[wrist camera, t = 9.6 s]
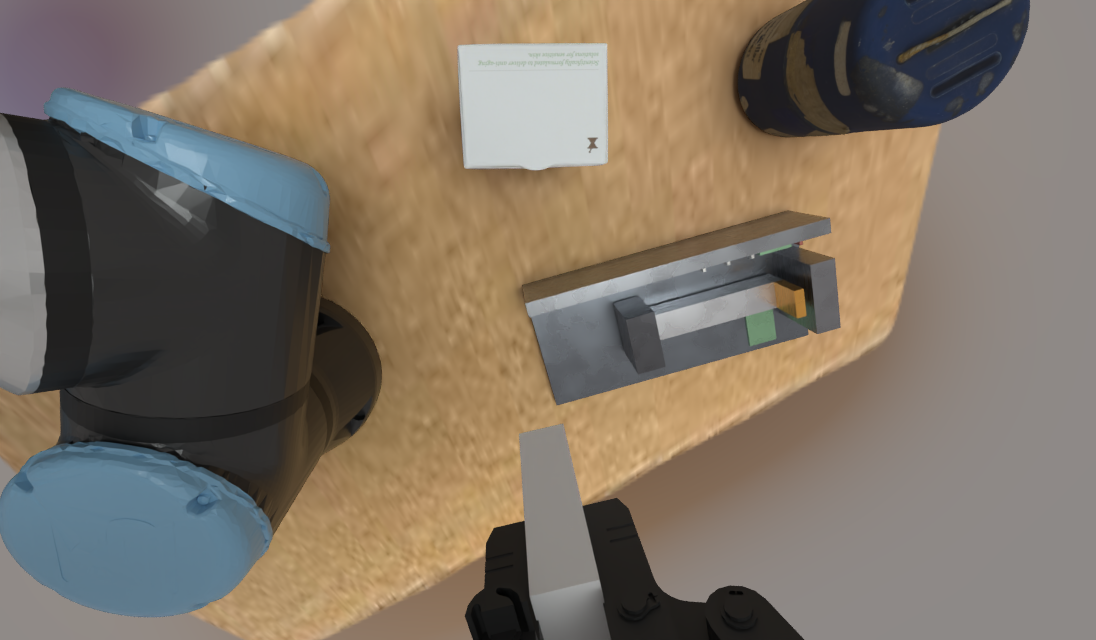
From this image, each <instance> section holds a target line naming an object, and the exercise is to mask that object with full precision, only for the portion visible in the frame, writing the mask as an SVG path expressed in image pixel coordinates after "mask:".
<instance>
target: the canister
mask: <svg viewBox="0 0 1096 640" xmlns="http://www.w3.org/2000/svg"><path fill="white" fill-rule="evenodd" d="M1029 10H1030V0H806V1H804V2H802V3H801V4H799V5H797V6H795V7H793V8H792V9H790V10H788V11H786V12H784V13H782V14H780V15H779V16H777V17H775V18H773V19H772V20H770V21H769V22H768V23H767V24H765V25H764V26H763V27H762V28H761V29H760V30H759V31H758V32H757V33H756V34H755V36H754V37H753V38H752V40H751V41H750V43H749V44H748V46H747V48H746V50H745V52H744V54H743V57H742V60H741V63H740V67H739V73H738V92H739V97H740V102H741V105H742V107H743V109H744V111H745V113H746V114H747V116H748V118H749V119H750V120H751V121H752V122H753V123H754V124H755V125H756V126H757V127H759V128H760V129H761V130H763V131H765V132H767V133H769V134H772V135H775V136H780V137H806V136H827V135H841V134H848V133H854V132H864V131H877V130H890V129H903V128H917V127H926V126H932V125H937V124H941V123H944V122H947V121H949V120H952V119H954V118H956V117H958V116H960V115H962V114H964V113H966V112H968V111H970V110H971V109H973V108H974V107H975V106H977V105H978V104H979V103H981V102H982V101H983V100H984V99H985V98H986V97H987V96H989V95H990V93H992V92H993V90H994V89H995V88H996V87H997V86H998V85H999V84H1000V83H1001V81H1002V80H1003V79H1004V77H1005V76H1006V74H1007V73H1008V72H1009V70H1010V69H1011V67H1012V65H1013V64H1014V61H1015V60H1016V57H1017V55H1018V53H1019V51H1020V49H1021V46H1022V44H1023V40H1024V38H1025V35H1026V32H1027V28H1028V21H1029Z"/></svg>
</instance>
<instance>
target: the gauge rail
mask: <svg viewBox="0 0 1096 640" xmlns="http://www.w3.org/2000/svg"><path fill="white" fill-rule="evenodd" d="M829 233H831V225H830V218H827V217H821V216H815V215H810V214H804V213H799V212H793V211H785V212H781V213H778V214H774V215H771V216H767V217H763V218H760V219H756V220H753V221H749V222H746V223H742V224H738V225H735V226H731V227H728V228H724V229H721V230H717V231H713V232H710V233H706V234H703V235H699V236H696V237H692V238H689V239H685V240H681V241H678V242H674V243H671V244H667V245H664V246H660V247H656V248H653V249H649V250H646V251H642V252H639V253H635V254H632V255H628V256H624V257H621V258H617V259H614V260H610V261H607V262H603V263H599V264H596V265H592V266H589V267H585V268H582V269H578V270H574V271H571V272H567V273H564V274H560V275H557V276H553V277H550V278H546V279H542V280H539V281H535V282H532V283H528V284H525V285H522V286H523V293H524V300H525V305H526V309H527V312H528V315H529V317H531V318H532V322H533V325H534V329H535V332H536V335H537V339H538V342H539V346H540V349H541V353H542V356H543V359H544V363H545V366H546V370H547V373H548V377H549V380H550V383H551V387H552V390H553V394H554V397H555V401H556V404H557V405H560V404H564V403H567V402H571V401H574V400H578V399H581V398H585V397H589V396H592V395H596V394H599V393H603V392H606V391H610V390H614V389H617V388H621V387H624V386H628V385H631V384H635V383H639V382H642V381H646V380H649V379H653V378H656V377H660V376H664V375H667V374H671V373H674V372H678V371H681V370H685V369H688V368H692V367H696V366H699V365H703V364H706V363H710V362H713V361H717V360H721V359H724V358H728V357H731V356H735V355H738V354H742V353H746V352H749V351H753V350H756V349H760V348H763V347H767V346H771V345H774V344H778V343H781V342H785V341H788V340H792V339H796V338H799V337H803V336H806V335H808V329H809V330H811V331H813V332H814V333H816V334H819V333H823V332H826V331H830V330H834V329H837V328H841V327H840V315H839V303H838V291H837V279H836V267H835V258H832V257H829V256H825V255H822V254H818V253H815V252H812V251H808V250H805V249H802V248H799V245H803V242H802V241H804V240H807V239H811V238H814V237H818V236H822V235H825V234H829ZM766 274H771V275H773V276H776V277H778V278H780V279H783V280H785V281H787V282H790V283H792V284H794V285H797V286H799V287H801V288H804V296H805V306H806V315H807V316H805V317H801V318H795V317H793V316H791V315H790V314H788V313H786V312H784V311H782V310H780V309H779V308H774V309H771V310H767V311H764V312H760V313H756V314H753V315H749V316H746V317H742V318H739V319H735V320H731V321H728V322H724V323H721V324H717V325H714V326H710V327H706V328H703V329H699V330H696V331H692V332H689V333H685V334H681V335H678V336H674V337H671V338H667V339H664V340H660V341H661V346H662V351H663V356H664V360H665V365H666V367H663V368H660V369H656V370H653V371H649V372H646V373H642V374H638V373H637V372H636V370H635V369H634V367H633V365H632V364H631V362H630V361H629V359H628V357H627V356H626V354H625V352H624V348H623V344H622V339H621V335H620V331H619V327H618V322H617V318H616V314H615V310H614V305H613V303H615V302H619V301H623V300H626V299H630V298H633V297H637V296H639V297H640V298H641V299H642V300H643V301H644V302H645V303H646V304H647V305H648V306H649V307H652V306H655V305H659V304H662V303H666V302H669V301H673V300H676V299H680V298H684V297H687V296H691V295H694V294H698V293H701V292H705V291H709V290H712V289H716V288H719V287H723V286H726V285H730V284H734V283H737V282H741V281H744V280H748V279H751V278H755V277H759V276H762V275H766Z"/></svg>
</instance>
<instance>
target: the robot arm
mask: <svg viewBox="0 0 1096 640" xmlns="http://www.w3.org/2000/svg"><path fill="white" fill-rule="evenodd" d="M44 113H45V114H47V115H48V116H50V118H49V119H47V120H41V119H35V118H29V117H23V116H17V115H10V114H4V113H0V387H1V388H3V389H5V390H7V391H9V392H11V393H13V394H16V395H26V394H33V393H39V392H46V391H53V390H60V422H61V433H60V437H59V440H58V442H57V444H56V445H55V446H53V447H52V448H50V449H47V450H45V451H41V452H39V453H38V454H36V455H34V456H32V457H31V458H29V460H28V461H27V462H26V464H25V465H24V466H22V468H21V470H20V472H19V473H18V474H17V475H15V476H14V477H13V478H12V479H11V480H10V481H9V483H8V484H7V485H6V487H5V489H4V490H3V492H2V495H1V498H0V533H1V536H2V539H3V542H4V544H5V546H6V548H7V549H8V551H9V552H10V554H11V555H12V556H13V558H14V559H15V560H16V561H17V563H18V564H19V565H20V566H21V567H22V568H23V569H24V570H25V571H26V572H28V574H30V575H31V576H32V577H33V578H34V579H35V580H37V581H38V582H39V583H41V584H42V585H44V586H47V587H49V588H51V589H52V590H54V591H56V592H57V593H59V594H60V595H61V596H63V597H65V598H67V599H69V600H71V601H73V602H76V603H78V604H81V605H83V606H86V607H89V608H92V609H96V610H99V611H103V612H107V613H112V614H118V615H125V616H134V617H165V616H174V615H178V614H184V613H188V612H191V611H195V610H197V609H200V608H202V607H204V606H206V605H207V604H208V603H209V602H213V601H216V600H219V599H221V598H223V597H224V596H226V595H227V594H228V593H230V592H231V591H232V590H233V589H234V588H235V587H236V586H237V585H238V584H239V583H240V582H241V581H242V580H243V578H244V577H245V576H246V574H247V573H248V572H249V570H250V569H251V568H252V566H253V565H254V564H255V563H256V561H257V560H258V559H259V558H260V557H262V556H263V554H264V553H265V552H266V551H267V550H268V548H269V544H270V542H271V540H272V537H273V535H274V533H275V531H276V530H277V528H278V527H279V525H280V523H281V522H282V520H283V518H284V517H285V515H286V513H287V512H288V510H289V508H290V507H291V505H292V503H293V502H294V500H295V498H296V497H297V495H298V493H299V492H300V490H301V488H302V487H303V485H304V483H305V482H306V480H307V479H308V477H309V475H310V474H311V472H312V470H313V469H314V467H315V465H316V464H317V462H318V460H319V458H320V457H321V456H322V455H323V454H325V453H327V452H328V451H330V450H332V449H333V448H335V447H337V446H338V445H340V444H342V443H343V442H345V441H346V440H348V439H349V438H350V437H351V436H353V435H354V434H355V433H356V432H357V431H358V430H359V429H360V427H361V426H362V425H363V424H364V423H365V421H366V420H367V418H368V416H369V414H370V413H371V411H372V409H373V407H374V405H375V403H376V401H377V398H378V396H379V392H380V388H381V380H382V371H381V363H380V359H379V355H378V352H377V349H376V347H375V345H374V343H373V341H372V339H371V337H370V336H369V334H368V333H367V331H366V330H365V329H364V327H363V326H362V325H361V324H360V323H359V322H358V321H357V320H356V319H355V318H354V317H353V316H352V315H351V314H350V313H348V312H347V311H346V310H344V309H343V308H341V307H340V306H338V305H336V304H335V303H333V302H331V301H329V300H326V299H324V298H321V289H322V280H323V271H324V263H325V254H326V253H330V244H329V243H328V242H327V235H328V221H329V206H330V195H329V189H328V186H327V184H326V182H325V180H324V179H323V177H322V176H321V175H320V174H319V173H318V172H317V171H316V170H315V169H314V168H313V167H311V166H310V165H308V164H306V163H304V162H301V161H299V160H296V159H294V158H291V157H288V156H285V155H282V154H279V153H276V152H274V151H271V150H267V149H264V148H261V147H258V146H255V145H252V144H249V143H246V142H243V141H240V140H237V139H234V138H231V137H228V136H225V135H221V134H218V133H215V132H212V131H209V130H205V129H202V128H199V127H196V126H193V125H190V124H187V123H184V122H181V121H177V120H174V119H171V118H168V117H165V116H161V115H158V114H155V113H152V112H149V111H145V110H142V109H139V108H136V107H132V106H129V105H126V104H122V103H119V102H115V101H112V100H108V99H104V98H101V97H97V96H94V95H91V94H88V93H84V92H81V91H78V90H75V89H70V88H57V89H55V90H54V91H53V92H52V94H51V97H50V100H49V101H48V102H46V103H45V104H44ZM519 440H520V455H521V471H522V487H523V502H524V518H525V521H522V522H518V523H513V524H509V525H505V526H501V527H496V528H494V529H493V531H492V533H491V535H490V537H489V539H488V541H487V543H486V562H485V573H486V574H485V585H484V589H483V590H482V591H480V592H479V593H478V594H476V595H475V596H474V598H473V599H472V601H471V602H470V603H469V605H468V608H467V611H466V614H465V618H466V620H467V623H468V626H469V629H470V632H471V635H472V638H473V640H804V639H803V638H802V637H801V636H800V635H799V634H798V633H797V632H796V630H795V629H793V627H792V626H791V625H790V624H789V623H788V622H787V621H786V620H785V619H784V618H783V617H782V616H781V615H780V614H779V613H778V611H776V609H775V608H774V607H773V606H772V605H771V604H770V603H769V602H768V601H767V600H766V599H765V598H764V597H762V596H761V595H760V594H758V593H757V592H756V591H754V590H751V589H748V588H746V587H743V586H727V587H723V588H719V589H717V590H716V591H715V592H714V593H712V594H711V595H710V596H709V598H708V600H707V602H706V603H702V602H688V601H682V600H678V599H676V598H673V597H671V596H669V595H668V594H666V593H665V592H663V591H662V590H661V588H660V587H659V586H658V585H657V583H656V582H655V580H654V577H653V575H652V572H651V569H650V566H649V564H648V561H647V558H646V555H645V553H644V550H643V547H642V544H641V541H640V539H639V537H638V533H637V531H636V528H635V525H634V522H633V520H632V517H631V514H630V511H629V509H628V508H627V507H626V506H625V505H624V504H623V503H622V502H621V501H620V500H619V499H617V498H615V499H610V500H606V501H602V502H598V503H593V504H589V505H585V506H582V502H581V498H580V494H579V489H578V485H577V481H576V476H575V472H574V468H573V464H572V459H571V455H570V451H569V446H568V442H567V438H566V434H565V429H564V425H563V424H559V425H555V426H551V427H546V428H542V429H538V430H533V431H529V432H525V433H521V434H519Z"/></svg>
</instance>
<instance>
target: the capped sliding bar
mask: <svg viewBox="0 0 1096 640" xmlns="http://www.w3.org/2000/svg"><path fill="white" fill-rule="evenodd" d="M613 305H614V310H615V314H616V318H617V322H618V327H619V331H620V335H621V339H622V344H623V348H624V352H625V354H626V356H627V357H628V359H629V361H630V362H631V364H632V365H633V367H634V369H635V370H636V372H637V373H638V374H642V373H646V372H649V371H653V370H656V369H660V368H663V367H666V365H665V360H664V356H663V351H662V346H661V341H660V340H664V339H667V338H671V337H674V336H678V335H681V334H685V333H689V332H692V331H696V330H699V329H703V328H706V327H710V326H714V325H717V324H721V323H724V322H728V321H731V320H735V319H739V318H742V317H746V316H749V315H753V314H756V313H760V312H764V311H767V310H771V309H774V308H779V309H780V310H782V311H784V312H786V313H788V314H790V315H791V316H793V317H795V318H801V317H805V316H807V315H806V306H805V296H804V288H801V287H799V286H797V285H794V284H792V283H790V282H787V281H785V280H783V279H780V278H778V277H776V276H773V275H771V274H766V275H762V276H759V277H755V278H751V279H748V280H744V281H741V282H737V283H734V284H730V285H726V286H723V287H719V288H716V289H712V290H709V291H705V292H701V293H698V294H694V295H691V296H687V297H684V298H680V299H676V300H673V301H669V302H666V303H662V304H659V305H655V306H652V307H649V306H648V305H647V304H646V303H645V302H644V301H643V300H642V299H641V298H640V297H639V296H637V297H633V298H630V299H626V300H623V301H619V302H615V303H613Z"/></svg>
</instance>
